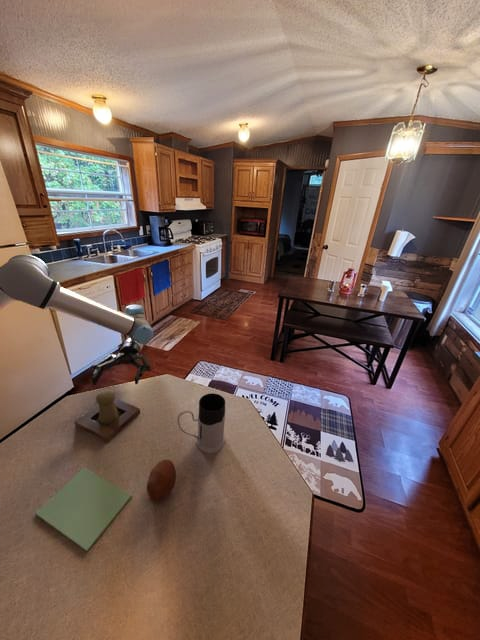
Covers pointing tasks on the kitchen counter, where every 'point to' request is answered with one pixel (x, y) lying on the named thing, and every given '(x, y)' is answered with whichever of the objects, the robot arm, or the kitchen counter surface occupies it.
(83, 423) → the frame
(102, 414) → the cork
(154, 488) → the potato
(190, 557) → the kitchen counter surface
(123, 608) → the kitchen counter surface
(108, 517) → the mat
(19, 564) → the kitchen counter surface
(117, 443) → the kitchen counter surface
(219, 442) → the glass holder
